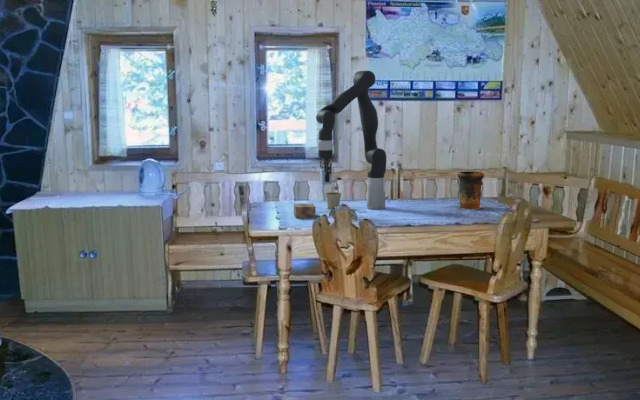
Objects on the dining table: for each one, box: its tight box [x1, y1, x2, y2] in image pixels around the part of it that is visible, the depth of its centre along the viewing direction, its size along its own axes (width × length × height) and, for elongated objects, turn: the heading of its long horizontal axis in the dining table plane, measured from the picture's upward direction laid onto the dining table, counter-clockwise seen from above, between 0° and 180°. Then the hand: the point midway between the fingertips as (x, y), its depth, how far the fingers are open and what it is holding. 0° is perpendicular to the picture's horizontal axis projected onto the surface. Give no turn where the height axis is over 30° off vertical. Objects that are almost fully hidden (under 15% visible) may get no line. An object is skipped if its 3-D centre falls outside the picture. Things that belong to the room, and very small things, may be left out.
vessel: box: [457, 170, 485, 211], centre depth 353 cm, size 14×14×20 cm
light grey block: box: [319, 168, 333, 186], centre depth 335 cm, size 5×5×8 cm
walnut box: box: [293, 203, 317, 219], centre depth 330 cm, size 10×10×6 cm
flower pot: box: [324, 191, 343, 210], centre depth 352 cm, size 9×9×9 cm
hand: (325, 181), depth 335 cm, fingers closed on light grey block, 5 cm apart
